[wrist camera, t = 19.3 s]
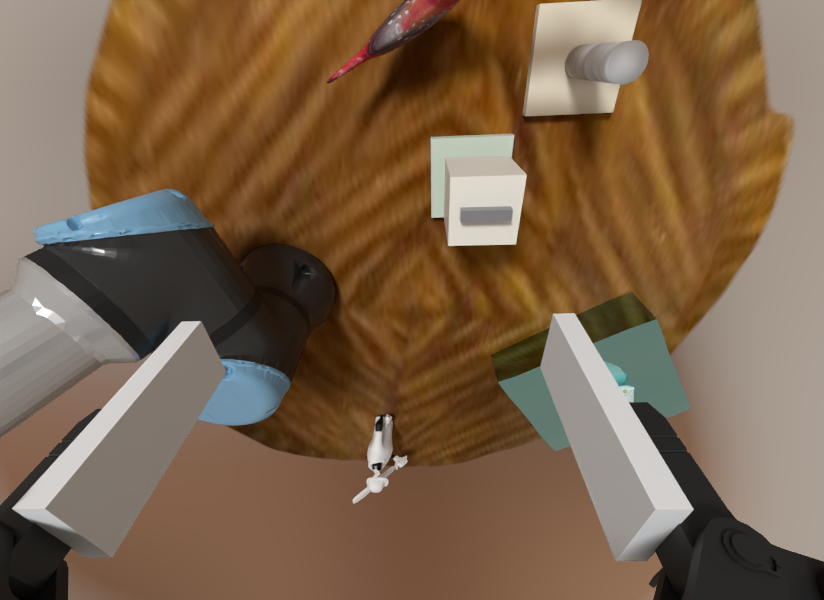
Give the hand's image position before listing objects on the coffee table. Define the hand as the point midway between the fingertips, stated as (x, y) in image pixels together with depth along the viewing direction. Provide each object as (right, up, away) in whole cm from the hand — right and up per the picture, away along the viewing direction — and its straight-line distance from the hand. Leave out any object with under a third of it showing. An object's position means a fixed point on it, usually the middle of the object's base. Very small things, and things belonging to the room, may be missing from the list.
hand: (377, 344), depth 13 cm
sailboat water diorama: (+33, -11, +52) cm, 63 cm away
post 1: (+9, +18, +32) cm, 38 cm away
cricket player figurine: (-4, -25, +63) cm, 68 cm away
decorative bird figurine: (+1, +31, +24) cm, 39 cm away
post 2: (+19, +28, +25) cm, 42 cm away
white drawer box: (+9, +15, +28) cm, 33 cm away
